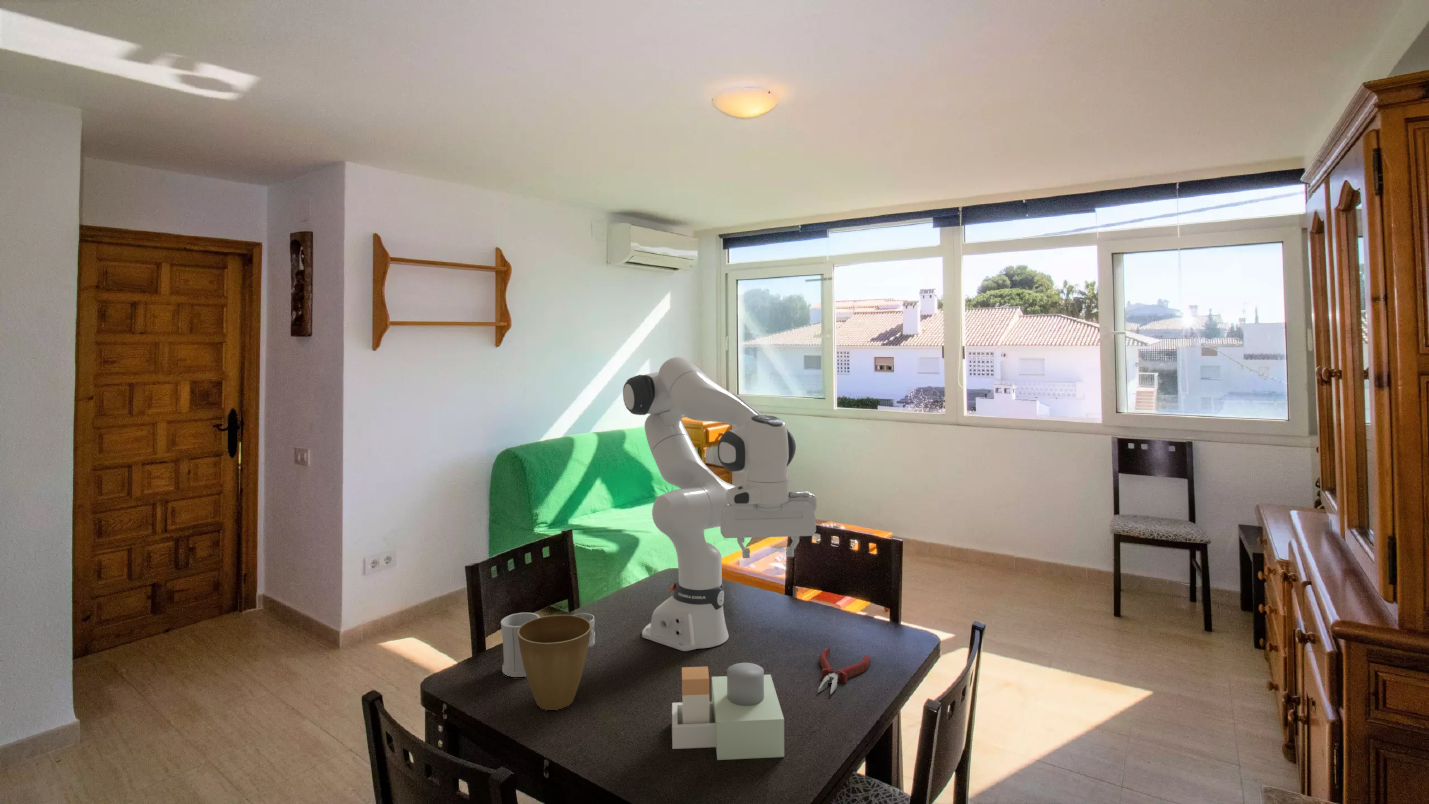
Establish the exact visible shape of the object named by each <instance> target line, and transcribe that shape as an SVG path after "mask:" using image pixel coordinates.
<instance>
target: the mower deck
mask: <svg viewBox="0 0 1429 804" xmlns="http://www.w3.org/2000/svg"><path fill="white" fill-rule="evenodd" d="M671 704H672V705H671V738H672V740H671V741H672V743H671V744H672V745H671V747H672V750H679V749H683V750H684V749H702V748H703V749H704V748H715V750H716V760H717V761H723V760H724V761H725V760H744V759H745V760H746V759H764V758H765V759H767V758H769V759H770V758H785V718H784V714H783V711H782V710H783V709H782V708H781V705H780V701H779V698H778V695H777V692H776V688H775V684H774V681H773V677H772V674H765V670H764V668H763V667H762V666H760V665H759V664H756V663H753V662H738V663H734V664H732V665H730V666H729V667H728V668H727V669H726V675H725V676H721V675H720V676H711V700H709V714H710V723H705V724H683V715H682V702H680V701H679V702H672V703H671Z"/></svg>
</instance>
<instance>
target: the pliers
mask: <svg viewBox="0 0 1429 804" xmlns="http://www.w3.org/2000/svg"><path fill="white" fill-rule="evenodd" d="M830 656H831V649H830V648H829V647H826V648H825V649H823V650H822V652H821V653H820V654H819V657H818V658H819V664H820V666H821V668H822V669H821V671H820V674H821V675H820V677H821V680H822V681H821V682H820V686H818V690H817V691H816V693H820V692H822V691H823V690H825V689H827V688H828V687H829V684H830V683H832V684H831V687H830V692H829V693H830V694H829V695H830V696H831V695H832V694H833V693H834V691H836V690H837V688H838V683H840V681H842V683H843V682H844V683H843V684H846V682H847V683H848V679H850V678H852V676H853V677H855V676H858V675H859V674H863V673H865V671H867V670H868V669H869V666H870V664H871V657H870V656H869V655H867V654H865V655H864V656H863V659H862V660H861V661H859V662H857V663H854V664H851V665H849V666H846V667H844V668H841V669H837V670H836V671H835V672H834V669H833V668H832V666H831V665H830V662H829V661H828V659H829V657H830ZM862 672H863V673H862ZM857 674H858V675H857ZM847 678H848V679H847ZM837 682H838V683H837ZM828 683H829V684H828Z"/></svg>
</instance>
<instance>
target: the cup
mask: <svg viewBox="0 0 1429 804" xmlns="http://www.w3.org/2000/svg"><path fill="white" fill-rule="evenodd" d="M540 617H541V616H540V615H539V614H538V613H535V612H518V613H512V614H510V615H507V616H504V617H503V618H502V619H501V621H500V628H501V635H502V637H501V638H502V646H503V647H502V651H503V664H502V665H501V667H502V668H501V669H502V671H501V672H503V673H504V674H505V675H507V676H511V677H523V676H526V673H525V669H524V665H523V661H522V657H521V652H520V647H519V641H518V633H517V631H518V629H519V627H520V626H521V625H523V624H524V623H526V622H528V621H530V620H533V619H536V618H540ZM503 673H502V674H503ZM504 674H503V675H504ZM505 675H504V676H505ZM507 676H506V677H507Z"/></svg>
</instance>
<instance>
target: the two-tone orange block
mask: <svg viewBox="0 0 1429 804" xmlns="http://www.w3.org/2000/svg"><path fill="white" fill-rule="evenodd" d="M681 697H682V699H681V701H682V715H683V724H705V723H710V714H709V701H710V674H709V666H707V665H706V666H690V667H689V666H686V667H685V666H683V667H681Z"/></svg>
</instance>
